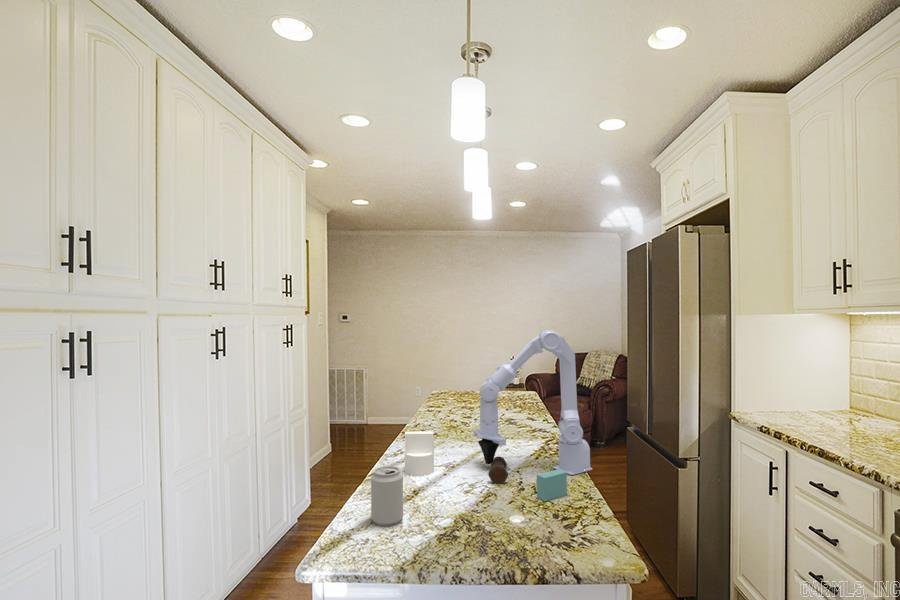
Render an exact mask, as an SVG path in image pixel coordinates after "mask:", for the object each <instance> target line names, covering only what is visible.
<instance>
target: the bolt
mask: <svg viewBox="0 0 900 600" xmlns="http://www.w3.org/2000/svg"><path fill="white" fill-rule="evenodd" d="M490 466H491V468H490V470H489V471H488V473H487V475H488V477H489V480H490V481H491V483H492V484H493V483H494V484H493V485H504V484H505V483H506V481H507V479H508V477H509V472H508V471H507V467H508V463H507V461H506V460H505V458H504V457H502V456H496V457H495V456H494V460H493V462H492V463H491V464H490Z"/></svg>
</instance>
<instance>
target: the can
mask: <svg viewBox="0 0 900 600" xmlns="http://www.w3.org/2000/svg"><path fill="white" fill-rule="evenodd" d="M370 480H371V481H370V485H371V486H370V491H371V492H370V494H371V495H370V496H371V497H370V502H371V504H370V510H371V511H370V513H371V514H370V515H371V516H370V517H371V520H372V521H373V522H374V523H375V524H376V525H378V526H382V527H389V526H393V525H396V524H398V523H400V521H401V520H402V519H403V517H404V476H403V473H401V469H400V468H399V467H398V466H396V465H395V466H393V465H383V466H379V467H376V468H375V469H373V474H372V475H371V476H370Z"/></svg>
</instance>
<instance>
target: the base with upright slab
mask: <svg viewBox="0 0 900 600" xmlns="http://www.w3.org/2000/svg"><path fill="white" fill-rule="evenodd" d="M434 435H435V434H434V431H433V430H426V431H425V430H420V431H419V430H418V431H405V432H404V473H405V474H406V475H407V474H408V475H407V476H410V475H412V476H411V477H418V476H419V477H425V476H424V475H427V476H430V475H432V474H433V473H434V472H435V444H434V443H435V438H434ZM431 473H432V474H431ZM429 474H430V475H429Z"/></svg>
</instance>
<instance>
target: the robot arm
mask: <svg viewBox="0 0 900 600" xmlns="http://www.w3.org/2000/svg"><path fill="white" fill-rule="evenodd" d="M543 349H544V350H546V351H547V352H549V353H552V354H553V355H554V356H555V357H556V358H557V359H558V360H559V377H560V380H559V381H560V382H559V385H560V403H561V410H560V418H559V420H558V425H557V428H558V431H559V432H560V436H559V437H558V465H555V466H552V468H553V469H554V470H557V469H559V470H562V471H565V472H567V475H570V476H573V475H578V474H581V473H584V472H588V471H592V470H593V468H592V467H591V448H590V445H589V443H588V442H587V440H586V439H583V437H584V430H583V428H582V426H581V423H580V416H579V411H578V398H577V397H578V395H577V394H578V393H577V391H578V390H577V371H576V353H575V352H574V350H573V348H572V347H571V346H570V345H569V343H568V341H566V339H565V336H562V335H561V334H560V333H558V332H557V331H555V330H551V329H545V330H542V331H540V333H539V334H538V335H536V336H535V337H533V338H532V339H531V340H530V341H529V342H528V343H527V344H526V345H525V346H524V347H523V348H522V349H521V351H519V352H518V354H517V355H515V357H514V358H513V359H512V360H511V361H510V362H509V363H506V364H505V363H503V364H501V365H498V366H497V367H496V370H495V372H494V373H492V374H491V375H490V376H488V377H486V378H485V380H486V381H485V382H483V383H482V384H481V385H480V388H479V397H480V399H479V404H480V405H479V429H478V428H477V429H473V432H472V433H473V434H472V435H473V437H477V438H478V439H480V440H478V445H479V447H480V449H481V451H482V454H483V458H484V462H485V465H486V464H487V465H491V463H492V462H493V460H494V458H495V456H496V453H497V450H498V448H499V447H503V446H507V438H504V437H503V436H502V435H501V434H499V406H498V396H499V393H500V392H503V390H504V389H506V388H507V387H508V386H509V384H510V383H512V382H513V381H514V379H516V377H517V374H516V373H517V371H518V370H519V369H520V368H521V367H523V366H524V365H525V363H526V362H527V361H528V360H530V358H532V356H534V355H536V354H542V353H544V350H543ZM584 469H585V471H584Z"/></svg>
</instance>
